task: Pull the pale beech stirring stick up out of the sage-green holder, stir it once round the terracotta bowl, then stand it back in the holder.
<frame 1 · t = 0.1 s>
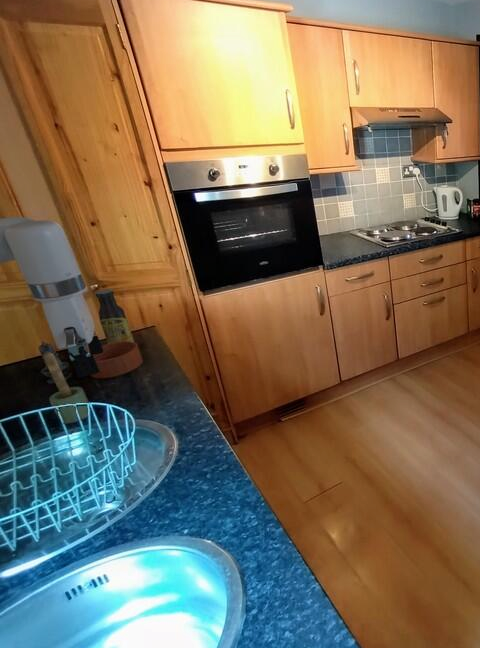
hand: (92, 364, 93), 23 cm above the worktop, tool pointing down, fingers open, 9 cm apart
bowl: (117, 368, 134), on the worktop
stick: (76, 415, 113), resting on holder
sauce bottle: (124, 349, 144), on the worktop
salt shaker: (60, 378, 129), on the worktop
holder: (77, 417, 113), on the worktop
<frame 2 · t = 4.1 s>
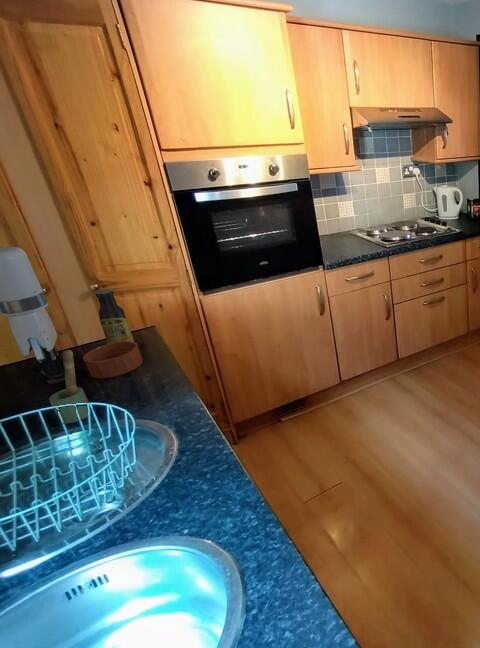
hand: (56, 373, 108), 13 cm above the worktop, tool pointing down, fingers closed
stick: (74, 415, 112), point 1 cm above the worktop, tilted 12°, touching holder
everything else where it was.
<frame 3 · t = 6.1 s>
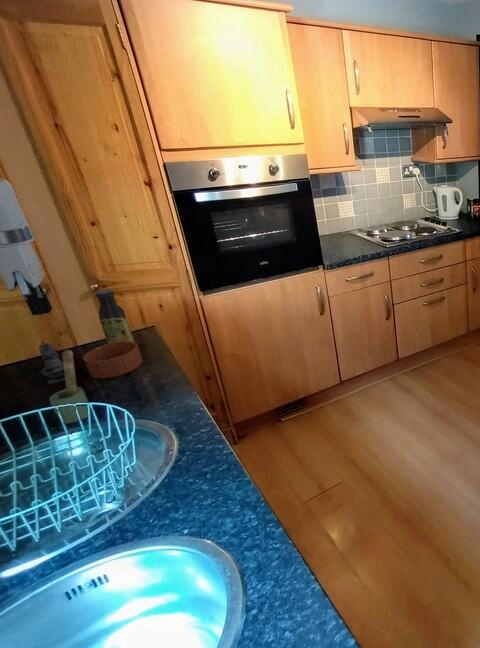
hand: (42, 312, 106), 27 cm above the worktop, tool pointing down, fingers closed
nothing on the worktop moved.
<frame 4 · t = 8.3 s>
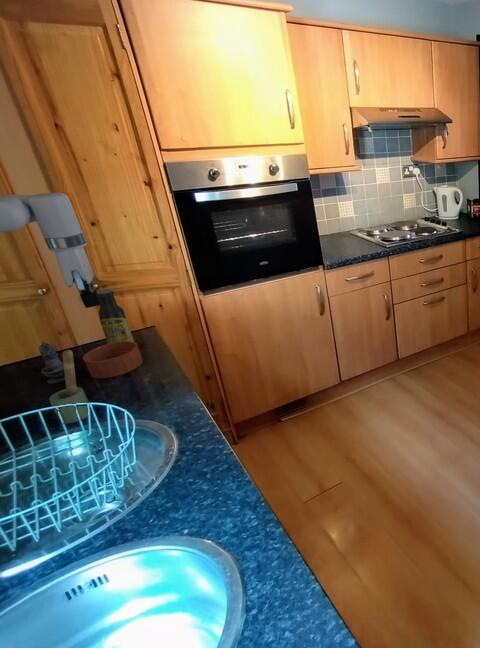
hand: (93, 305, 125), 21 cm above the worktop, tool pointing down, fingers closed
nothing on the worktop moved.
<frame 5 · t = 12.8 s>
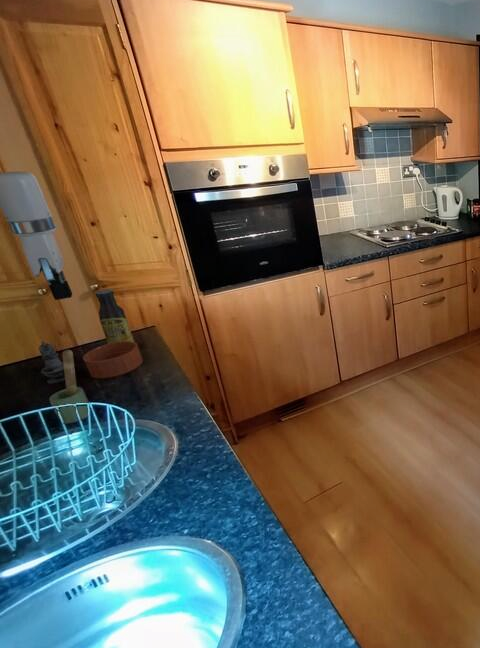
hand: (63, 297, 114), 27 cm above the worktop, tool pointing down, fingers closed
nothing on the worktop moved.
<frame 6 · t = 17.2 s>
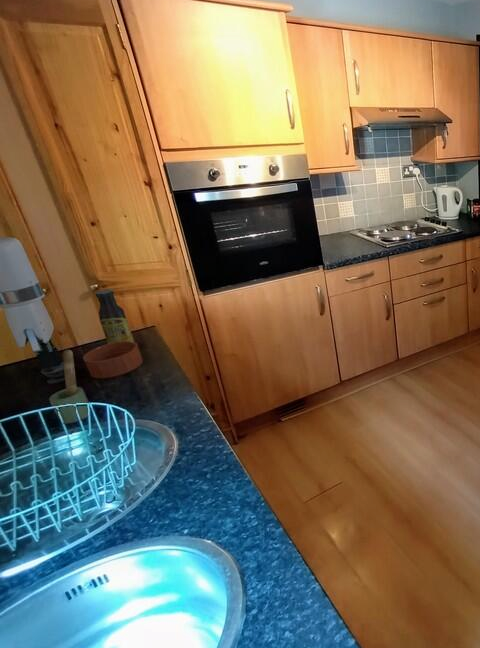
hand: (53, 365, 107), 15 cm above the worktop, tool pointing down, fingers closed
nothing on the worktop moved.
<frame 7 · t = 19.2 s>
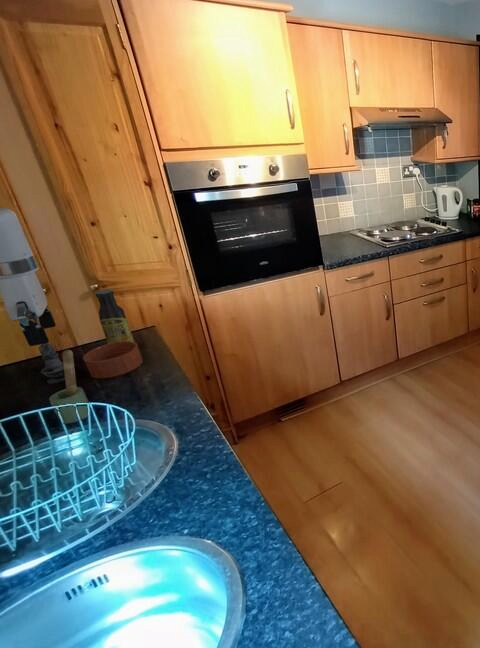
hand: (43, 335, 105), 22 cm above the worktop, tool pointing down, fingers open, 9 cm apart
nothing on the worktop moved.
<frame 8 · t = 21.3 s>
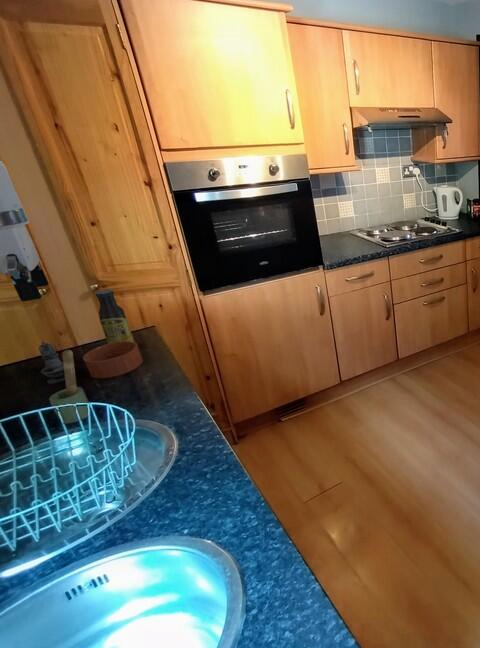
hand: (36, 292, 103), 32 cm above the worktop, tool pointing down, fingers open, 9 cm apart
nothing on the worktop moved.
at the end: stick 0.3 cm off-centre in the holder, point 0.5 cm above the holder's base; stick touching holder; the gripper is holding nothing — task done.
